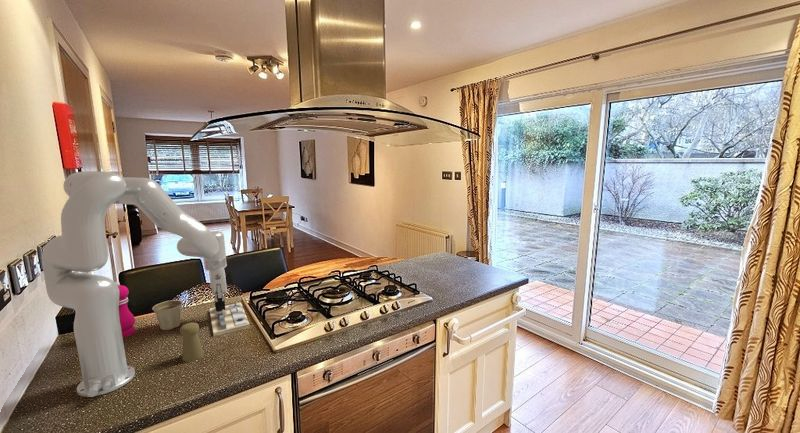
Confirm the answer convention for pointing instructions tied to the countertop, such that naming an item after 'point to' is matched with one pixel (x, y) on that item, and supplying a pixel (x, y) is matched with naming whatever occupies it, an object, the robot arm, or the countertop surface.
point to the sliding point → (225, 310)
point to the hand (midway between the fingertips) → (220, 308)
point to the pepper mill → (125, 312)
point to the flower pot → (168, 314)
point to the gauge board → (229, 319)
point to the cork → (191, 342)
